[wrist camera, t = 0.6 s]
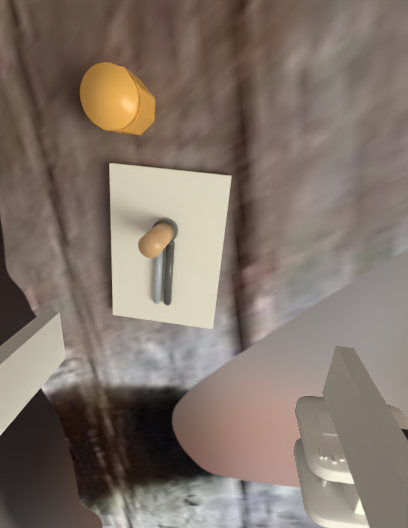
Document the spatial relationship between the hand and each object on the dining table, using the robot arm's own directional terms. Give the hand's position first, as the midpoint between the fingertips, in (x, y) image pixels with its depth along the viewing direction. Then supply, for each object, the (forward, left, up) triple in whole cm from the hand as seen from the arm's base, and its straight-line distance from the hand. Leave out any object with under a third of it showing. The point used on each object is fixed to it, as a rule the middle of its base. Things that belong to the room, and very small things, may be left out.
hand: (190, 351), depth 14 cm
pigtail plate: (+3, -6, -24) cm, 25 cm away
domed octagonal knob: (-13, -11, -24) cm, 29 cm away
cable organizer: (+27, +22, -24) cm, 42 cm away
